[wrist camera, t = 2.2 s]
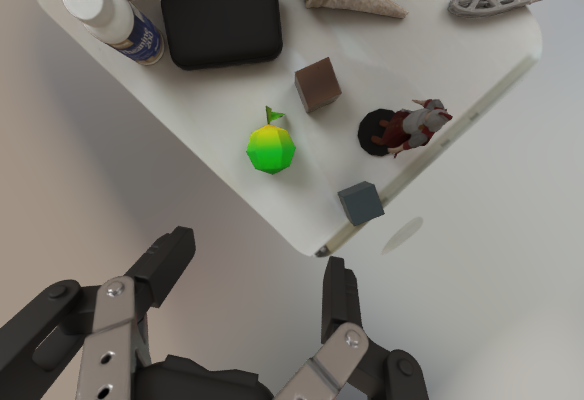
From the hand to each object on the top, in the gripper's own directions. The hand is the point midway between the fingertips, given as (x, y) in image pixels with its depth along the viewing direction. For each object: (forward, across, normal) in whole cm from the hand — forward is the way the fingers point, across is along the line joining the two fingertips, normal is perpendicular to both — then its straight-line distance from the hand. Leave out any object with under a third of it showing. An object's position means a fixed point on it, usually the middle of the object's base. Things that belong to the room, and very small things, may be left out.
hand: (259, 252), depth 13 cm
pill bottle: (+26, +23, -8) cm, 35 cm away
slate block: (+22, -10, +8) cm, 25 cm away
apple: (+23, +4, +2) cm, 24 cm away
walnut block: (+26, -1, -5) cm, 27 cm away
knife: (+34, -24, -21) cm, 46 cm away
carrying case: (+28, +12, -11) cm, 33 cm away
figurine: (+26, -12, -1) cm, 28 cm away
